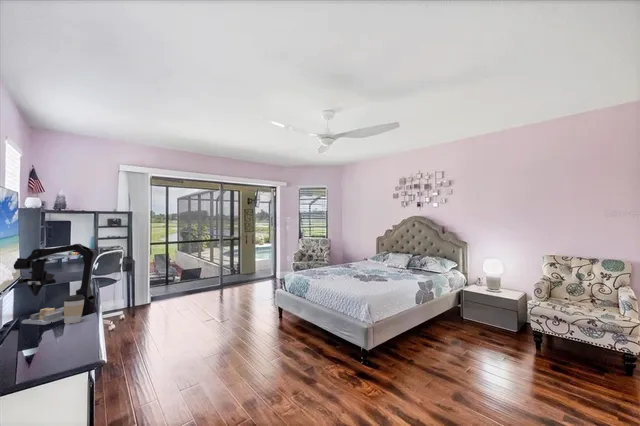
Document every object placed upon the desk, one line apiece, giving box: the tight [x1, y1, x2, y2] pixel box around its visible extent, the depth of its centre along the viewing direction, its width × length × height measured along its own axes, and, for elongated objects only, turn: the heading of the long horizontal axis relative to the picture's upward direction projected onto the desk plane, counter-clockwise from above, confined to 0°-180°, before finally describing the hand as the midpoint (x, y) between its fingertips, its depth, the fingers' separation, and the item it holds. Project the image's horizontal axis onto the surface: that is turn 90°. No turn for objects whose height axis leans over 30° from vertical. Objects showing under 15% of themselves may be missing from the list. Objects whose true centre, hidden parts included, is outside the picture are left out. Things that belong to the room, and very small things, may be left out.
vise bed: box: [21, 310, 64, 326], centre depth 157 cm, size 14×11×4 cm
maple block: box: [39, 307, 56, 320], centre depth 157 cm, size 5×4×6 cm
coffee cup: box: [63, 294, 85, 325], centre depth 157 cm, size 9×9×15 cm
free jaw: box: [29, 312, 40, 320], centre depth 158 cm, size 4×8×3 cm, turn 177°
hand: (35, 295), depth 166 cm, fingers closed
